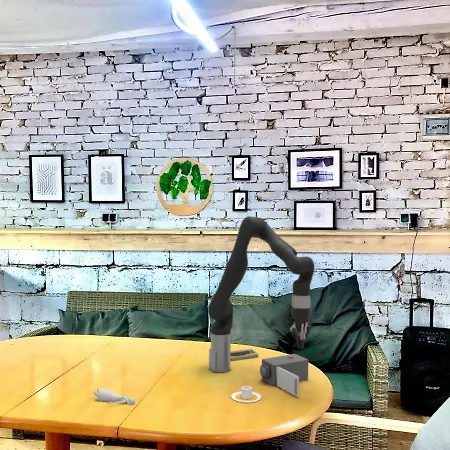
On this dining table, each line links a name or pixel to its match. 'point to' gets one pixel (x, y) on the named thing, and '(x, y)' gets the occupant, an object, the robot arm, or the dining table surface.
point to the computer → (243, 354)
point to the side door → (287, 381)
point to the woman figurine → (113, 397)
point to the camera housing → (284, 367)
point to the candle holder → (246, 394)
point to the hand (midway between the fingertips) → (300, 348)
